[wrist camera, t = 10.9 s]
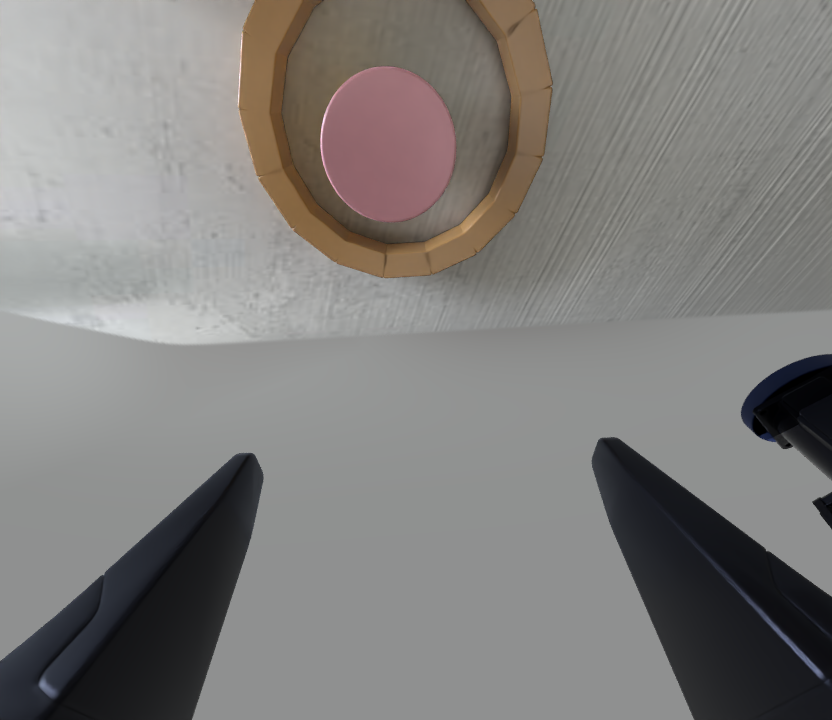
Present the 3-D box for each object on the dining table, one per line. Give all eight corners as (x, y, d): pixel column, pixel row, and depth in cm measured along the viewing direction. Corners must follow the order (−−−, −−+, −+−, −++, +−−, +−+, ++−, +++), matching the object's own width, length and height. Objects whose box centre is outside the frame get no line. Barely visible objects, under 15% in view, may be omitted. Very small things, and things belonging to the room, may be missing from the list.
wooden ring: (596, 117, 15) (612, 118, 14) (410, 308, 20) (411, 321, 19) (372, -205, 11) (367, -245, 9) (203, 145, 16) (186, 148, 14)
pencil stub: (448, 125, 15) (485, 146, 8) (401, 183, 17) (397, 248, 9) (393, 64, 14) (377, 23, 7) (348, 132, 15) (293, 159, 8)
